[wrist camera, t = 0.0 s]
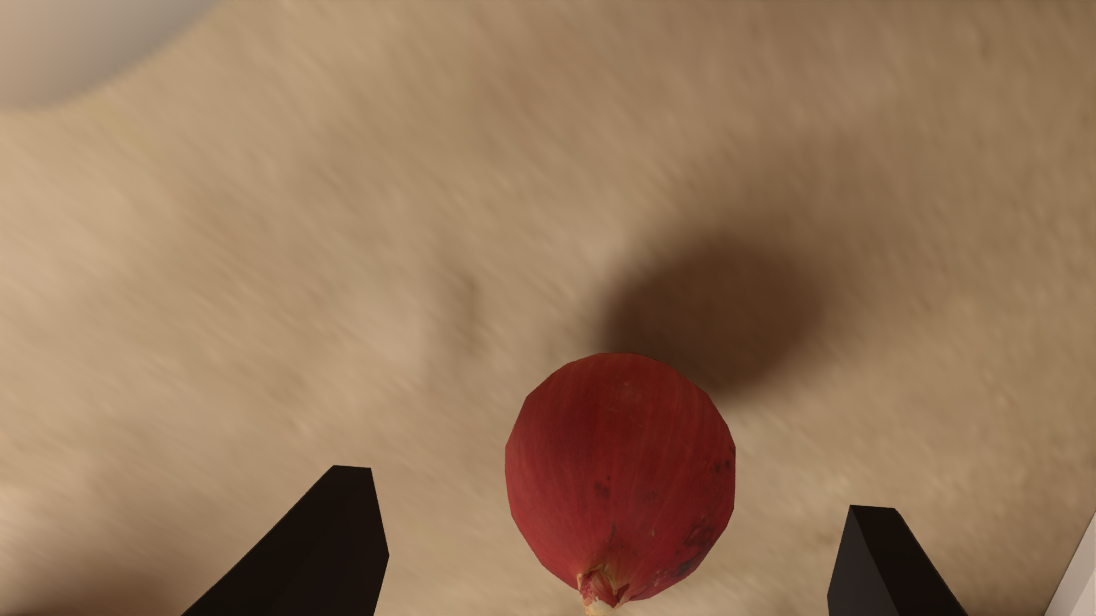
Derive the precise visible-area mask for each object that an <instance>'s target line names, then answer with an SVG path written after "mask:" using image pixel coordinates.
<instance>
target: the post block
mask: <svg viewBox="0 0 1096 616" xmlns="http://www.w3.org/2000/svg"><path fill="white" fill-rule="evenodd" d="M1044 616H1096V512H1095V515H1094V517H1093V519H1092V521H1091V523H1090V525H1089V527H1088V529H1087V531H1086V533H1085V535H1084V537H1083V539H1082V541H1081V543H1080V545H1079V547H1078V549H1077V551H1076V553H1075V555H1074V557H1073V559H1072V561H1071V563H1070V565H1069V567H1068V569H1067V571H1066V573H1065V575H1064V577H1063V579H1062V581H1061V583H1060V585H1059V587H1058V589H1057V591H1056V593H1055V595H1054V597H1053V599H1052V601H1051V603H1050V605H1049V607H1048V609H1047V611H1046V613H1045V615H1044Z"/></svg>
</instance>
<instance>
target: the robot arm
mask: <svg viewBox="0 0 1096 616" xmlns="http://www.w3.org/2000/svg"><path fill="white" fill-rule="evenodd" d="M388 559H389V552H388V547H387V542H386V537H385V533H384V528H383V523H382V519H381V514H380V509H379V504H378V500H377V495H376V490H375V486H374V481H373V476H372V471H371V468H365V467H352V466H339V465H333V466H332V467H331V468H330V469H329V470H328V471H327V472H326V473H325V474H324V475H323V476H322V477H321V478H320V479H319V480H318V481H317V482H316V483H315V484H314V485H313V486H312V487H311V488H310V489H309V490H308V491H307V492H306V494H305V495H304V496H303V497H302V498H301V499H300V500H299V501H298V502H297V503H296V504H295V505H294V506H293V507H292V508H291V509H290V510H289V511H288V512H287V513H286V514H285V516H284V517H283V518H282V519H281V520H280V521H279V522H278V523H277V524H276V525H275V526H274V527H273V528H272V529H271V530H270V531H269V532H268V533H267V534H266V535H265V536H264V537H263V538H262V539H261V540H260V541H259V542H258V543H257V544H256V545H255V546H254V547H253V548H252V549H251V550H250V551H249V552H248V553H247V554H246V555H245V556H244V557H243V558H242V559H241V560H240V561H239V562H238V563H237V564H236V565H235V566H234V567H233V568H232V569H231V570H230V571H229V572H228V573H227V574H225V575H224V576H223V577H222V578H221V579H220V580H219V581H218V582H217V583H216V584H215V585H214V586H213V587H211V588H210V589H209V590H208V591H207V592H206V593H205V594H204V595H203V596H202V597H201V598H199V599H198V600H197V601H196V602H195V603H194V604H193V605H192V606H191V607H190V608H188V609H187V610H186V611H185V612H184V613H183V614H182V615H181V616H373V615H374V612H375V608H376V605H377V601H378V597H379V594H380V590H381V586H382V583H383V579H384V575H385V571H386V567H387V563H388ZM827 599H828V609H829V616H968V615H967V613H966V612H965V610H964V609H963V608H962V606H961V605H960V603H959V602H958V601H957V599H956V598H955V596H954V595H953V593H952V592H951V590H950V589H949V588H948V586H947V585H946V583H945V582H944V580H943V579H942V577H941V576H940V574H939V573H938V571H937V570H936V569H935V567H934V566H933V564H932V563H931V561H930V560H929V558H928V557H927V555H926V553H925V552H924V550H923V549H922V547H921V546H920V544H919V543H918V541H917V540H916V538H915V537H914V535H913V533H912V532H911V530H910V529H909V527H908V526H907V524H906V522H905V521H904V519H903V518H902V516H901V515H900V514H899V512H898V511H897V510H896V509H895V508H886V507H873V506H860V505H850V507H849V511H848V515H847V519H846V523H845V527H844V531H843V535H842V539H841V543H840V547H839V551H838V555H837V559H836V563H835V567H834V570H833V574H832V578H831V582H830V586H829V590H828V594H827Z"/></svg>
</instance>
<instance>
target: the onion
mask: <svg viewBox="0 0 1096 616" xmlns="http://www.w3.org/2000/svg"><path fill="white" fill-rule="evenodd" d="M735 457H736V447H735V444H734V442H733V439H732V436H731V434H730V431H729V428H728V426H727V424H726V423H725V421H724V420H723V418H722V416H721V415H720V413H719V412H718V410H717V409H716V407H715V406H714V404H713V402H712V401H711V399H710V398H709V396H708V395H707V394H706V393H705V392H704V391H702V390H701V389H700V388H698V387H697V386H696V385H694V384H693V383H692V382H690V381H689V380H688V379H686V378H685V377H684V376H682V375H681V374H680V373H678V372H677V371H676V370H674V369H673V368H672V367H670V366H669V365H668V364H665V363H662V362H659V361H657V360H654V359H651V358H648V357H645V356H642V355H639V354H636V353H598V354H595V355H592V356H589V357H586V358H583V359H580V360H577V361H573V362H570V363H567V364H566V365H564V366H563V367H561V368H560V369H558V370H557V371H555V372H554V373H552V374H551V375H550V376H549V377H548V378H547V379H546V380H545V381H544V382H542V383H541V384H540V385H539V386H538V387H537V388H536V389H535V390H533V391H532V392H531V393H530V394H529V395H528V396H527V397H526V399H525V401H524V404H523V406H522V408H521V411H520V413H519V416H518V418H517V420H516V423H515V425H514V428H513V430H512V432H511V435H510V437H509V440H508V442H507V445H506V447H505V476H506V484H507V493H508V500H509V505H510V509H511V514H512V517H513V519H514V521H515V523H516V525H517V527H518V529H519V531H520V532H521V534H522V535H523V537H524V538H525V540H526V541H527V543H528V544H529V546H530V548H531V549H532V551H533V552H534V554H535V555H536V557H537V558H538V560H539V561H540V563H541V564H542V565H543V566H544V567H545V568H546V569H547V570H549V571H550V572H551V573H552V574H554V575H555V576H556V577H558V578H559V579H561V580H562V581H563V582H565V583H566V584H568V585H569V586H570V587H572V588H574V589H576V590H579V592H580V596H581V600H582V604H583V606H584V608H585V610H586V615H591V616H602V615H606V614H609V613H611V612H613V611H615V610H616V609H618V608H619V607H620V606H621V605H623V604H624V603H626V602H628V601H635V600H643V599H648V598H651V597H653V596H654V595H656V594H658V593H660V592H661V591H663V590H665V589H667V588H669V587H670V586H672V585H674V584H676V583H678V582H679V581H681V580H683V579H685V578H686V577H687V576H689V575H690V574H691V573H692V572H694V571H695V570H696V569H697V567H698V566H699V565H700V563H701V562H702V561H703V559H704V558H705V557H706V555H707V554H708V552H709V551H710V550H711V548H712V547H713V545H714V544H715V542H716V541H717V540H718V538H719V537H720V535H721V534H722V533H723V531H724V530H725V528H726V527H727V524H728V522H729V520H730V517H731V515H732V512H733V510H734V498H735Z"/></svg>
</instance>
